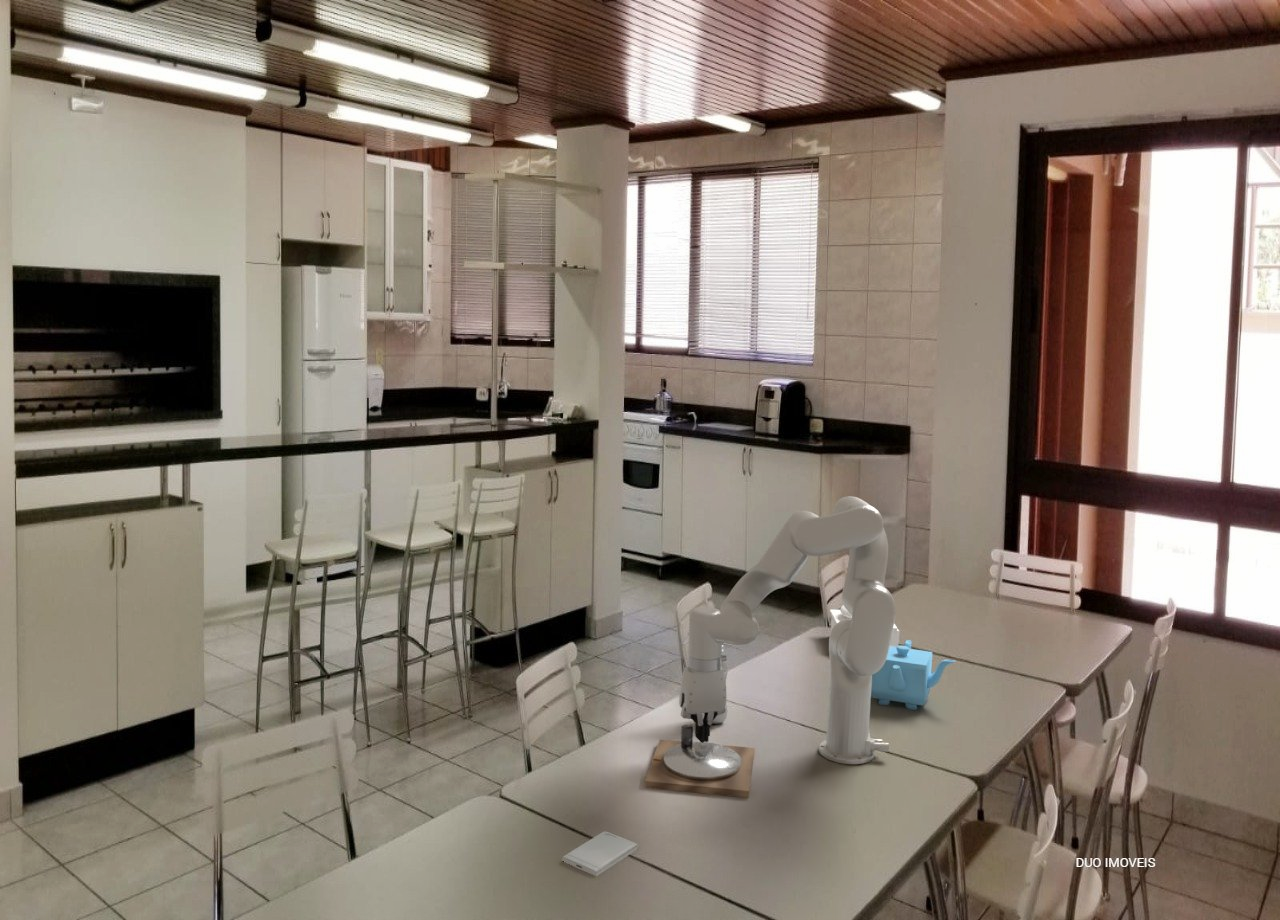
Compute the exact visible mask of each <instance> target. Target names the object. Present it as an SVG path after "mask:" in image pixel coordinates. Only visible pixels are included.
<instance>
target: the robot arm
mask: <svg viewBox="0 0 1280 920" xmlns="http://www.w3.org/2000/svg"><path fill="white" fill-rule="evenodd" d="M847 550H849V553H848V555H849V556H848V561H847V562H848V563H847V569H846V574H845V579H844V584H843V587H842V588H843V589H842V592H841V602H842V606H843V605H844V607H845V608H846V609H847V611H848V612H849V613H850V614H851V615H852V619H844V620H842V621H840V622H838V623H837V624H836V625H835V626H834V627H833V629H832V631H831V630H830V634H829V637H828V638H829V639H828V654H829V686H828V700H827V718H826V722H827V723H826V735H825V736H826V738H825V739H824V740H822V741H821V742H820V743H819V746H818V752H819V753H820V755H821V756H822V757H824V758H825V759H826V760H828V761H831V762H835V763H838V764H844V765H861V764H866V763H869V762H870V761H872V760H873V759H874V758H875V751H879V752H889V749H890V747H889V746H890V745H889V743H888V742H884V741H883V739H881V738H880V739H879V738H877V739H876V738H873V737H871V734H870V719H871V699H872V697H871V690H872V675H873V674H875V673H877V672H878V671H879V670H880V669H881V668H882V667H883V665H884V663H885V661H886V658H887V655H888V651H889V646H890V641H891V636H892V631H893V626H894V624H895V620H896V612H897V610H896V602H895V599H894V597H893V595H892V593H891V592H890V591H889V589H888V588H886V587H885V579H886V574H887V573H886V572H887V566H888V559H889V542H888V537H887V533H886V530H885V528H884V519H883V517H882V514H881V512H880V511H879V510H878V509H877V508H876V507H874V506H872V505H870V504H869V503H868V502H866V501H865V500H863V499H861V498H860V497H857V496H852V495H848V496H844V497H841V498H839V500H837V501H836V503H835V505H834V507H833V509H832V514H828V515H824V516H819V515H818V514H815V513H814V512H811V511H809V510H798V511H795V513H793V514H792V515H791V516H789V518H788V519H787V521H786V522H785V523H784V524H783V526H782V527H781V529H780V531H779V532H778V534H777V535H776V536H775V538H774V539H773V541H772V542H771V544H769V547H768V548H767V550H766V551H765V553H764V554H763V555H762V557H761V558H760V560H758V562H757V563H756V564H755V565H753V566H752V567H751V568H750V569H749V570H748V571H747V572H746V573H745V574H744V575H742V576H741V578H740V579H739V580H738V581H737V582H736V583H735V585H734V586H733V588H732V589H731V591H730V592H729V593H728V595H727V596H726V598H725V599H724V601H723V603H722V604H721V605H720V608H719V609H718V608H714V607H709V606H699V607H695V608H693V609H692V610H691V611H690V612H689V615H688V617H689V618H688V647H687V648H688V649H687V650H688V652H687V653H688V654H687V666H685V667H684V668H683V671H682V676H681V680H680V681H681V682H680V686H679V687H680V689H679V697H678V699H679V700H678V702H679V703H678V705H679V707H680V709H681V711H680V716H681V718H683V719H686V720H692V721H693V722H694V725H695V726H694V729H695V731H694V734H695V735H694V736H695V738H696V739H697V740H698V742H701V743H703V742H708V743H709V739H710V738H709V737H710V736H711V725H712V724H713V723H712V722H713V720H714V719H715V718H716V716H717V715H720V714H723V713H725V711H726V710H725V707H726V705H727V679H726V680H725V674H724V669H723V667H722V662H724V661H726V660H727V659H728V658H727V655H725V654H723V655H722V643H723V644H724V643H725V644H731V645H736V646H746V645H749V644H751V643H753V642H754V641H755V640H757V638H758V636H759V633H760V628H759V623H758V620H757V619H756V617H755V616H754V613H755V611H756V610H757V608H758V607H759V606H760V604H761V603H762V601H763V600H764V599H765V598H766V597H767V596H768V595H770V593H773V592H774V591H776V590H778V589H782V588H785V587H787V586H789V585H791V583H792V582H793V581H794V580H795V578H796V576H797V575H798V573H799V572H800V570H801V569H802V568H803V566H804V565H805V563H806V562H807V560H808V559H809V558H810V557H823V556H827V555H831V554H835V553H840V552H844V551H847ZM727 661H728V660H727ZM702 713H704V714H703V718H702Z"/></svg>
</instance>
